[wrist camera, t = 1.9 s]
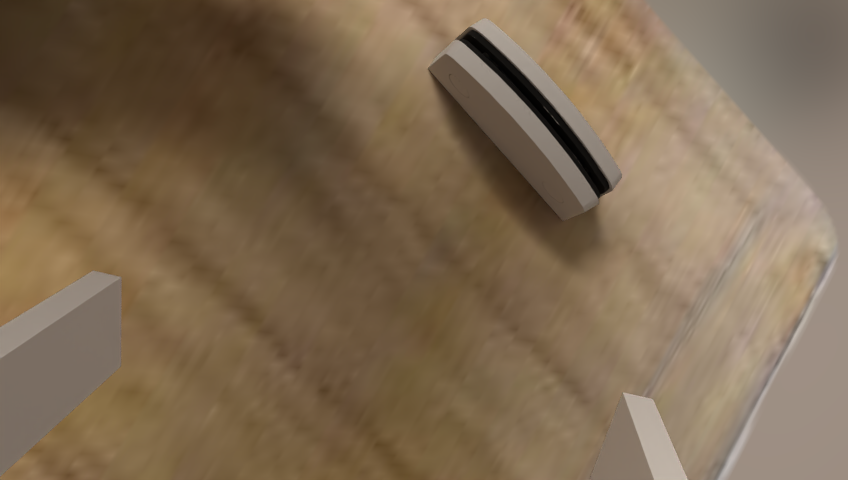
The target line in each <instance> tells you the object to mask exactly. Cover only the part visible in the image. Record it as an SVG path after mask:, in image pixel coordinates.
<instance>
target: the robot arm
mask: <svg viewBox="0 0 848 480" xmlns="http://www.w3.org/2000/svg"><path fill="white" fill-rule="evenodd" d="M120 367H121V277H119V276H115V275H110V274H106V273H101V272H97V271H92V272H90V273H88V274H87V275H85V276H83V277H82V278H80V279H79V280H77V281H75V282H74V283H72V284H70V285H69V286H67V287H65V288H64V289H62V290H60V291H59V292H57V293H56V294H54V295H52V296H51V297H49V298H47V299H46V300H44V301H42V302H41V303H39V304H37V305H36V306H34V307H33V308H31V309H29V310H28V311H26V312H24V313H23V314H21V315H19V316H18V317H16V318H15V319H13V320H11V321H10V322H8V323H6V324H5V325H3V326H1V327H0V476H1V475H2V474H4V473H5V472H6V471H7V470H8V469H9V468H10V467H11V466H12V465H13V464H14V463H16V462H17V461H18V460H19V459H20V458H21V457H22V456H23V455H24V454H25V453H27V452H28V451H29V450H30V449H31V448H32V447H33V446H34V445H35V444H36V443H37V442H39V441H40V440H41V439H42V438H43V437H44V436H45V435H46V434H47V433H48V432H50V431H51V430H52V429H53V428H54V427H55V426H56V425H57V424H58V423H59V422H60V421H62V420H63V419H64V418H65V417H66V416H67V415H68V414H69V413H70V412H71V411H73V410H74V409H75V408H76V407H77V406H78V405H79V404H80V403H81V402H82V401H84V400H85V399H86V398H87V397H88V396H89V395H90V394H91V393H92V392H93V391H94V390H96V389H97V388H98V387H99V386H100V385H101V384H102V383H103V382H104V381H105V380H107V379H108V378H109V377H110V376H111V375H112V374H113V373H114V372H115V371H116V370H117V369H119V368H120ZM590 477H591V480H688V479H687V477H686V474H685V472H684V470H683V467H682V465H681V463H680V460H679V458H678V456H677V454H676V451H675V449H674V447H673V444H672V442H671V440H670V437H669V435H668V433H667V430H666V428H665V426H664V423H663V421H662V419H661V417H660V414H659V412H658V410H657V407H656V405H655V403H654V400H653V399H650V398H646V397H642V396H637V395H633V394H629V393H624V392H623V393H622V395H621V398H620V401H619V403H618V406H617V408H616V411H615V414H614V416H613V419H612V422H611V424H610V427H609V429H608V432H607V435H606V437H605V440H604V442H603V445H602V448H601V450H600V453H599V456H598V458H597V461H596V463H595V466H594V469H593V471H592V474H591V476H590Z"/></svg>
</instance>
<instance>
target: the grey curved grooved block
mask: <svg viewBox="0 0 848 480" xmlns="http://www.w3.org/2000/svg"><path fill="white" fill-rule="evenodd" d="M428 69H429V70H430V72H431V73H432V74H433V75H434V76H435V77H436V78H437V79H438V81H439V82H440V83H441V84H442V85H443V86H444V87H445V89H446V90H447V91H448V92H449V93H450V94H451V95H452V96H453V98H454V99H455V100H456V101H457V102H458V103H459V104H460V105H461V107H462V108H463V109H464V110H465V111H466V112H467V113H468V115H469V116H470V117H471V118H472V119H473V120H474V121H475V122H476V124H477V125H478V126H479V127H480V128H481V129H482V130H483V131H484V133H485V134H486V135H487V136H488V137H489V138H490V139H491V141H492V142H493V143H494V144H495V145H496V146H497V147H498V148H499V150H500V151H501V152H502V153H503V154H504V155H505V156H506V157H507V159H508V160H509V161H510V162H511V163H512V164H513V165H514V166H515V168H516V169H517V170H518V171H519V172H520V173H521V174H522V176H523V177H524V178H525V179H526V180H527V181H528V182H529V183H530V185H531V186H532V187H533V188H534V189H535V190H536V191H537V192H538V194H539V195H540V196H541V197H542V198H543V199H544V200H545V202H546V203H547V204H548V205H549V206H550V207H551V208H552V209H553V211H554V212H555V213H556V214H557V215H558V216H559V217H560V218H561V220H562V221H564V220H567V219H569V218H572V217H574V216H577V215H579V214H582V213H584V212H586V211H588V210H589V209H591V208H592V207H594V206H596V205H597V204H599V200H598V199H599V198H600V196H603V195H605V194H607V193H609V192H611V191H612V190H613V189H614V188H615V186H616V185H617V183H618V182H619V181H620V179H621V178H622V174H621V171H620V169H619V168H618V166H617V164H616V163H615V161H614V160H613V158H612V156H611V155H610V153H609V152H608V150H607V149H606V147H605V146H604V144H603V143H602V141H601V140H600V139H599V137H598V136H597V134H596V133H595V132H594V130H593V129H592V128H591V126H590V125H589V124H588V122H587V121H586V120H585V119H584V117H583V116H582V115H581V113H580V112H579V111H578V109H577V108H576V107H575V106H574V105H573V103H572V102H571V101H570V100H569V98H568V97H567V96H566V95H565V94H564V93H563V92H562V91H561V89H560V88H559V87H558V86H557V85H556V84H555V83H554V82H553V80H552V79H551V78H550V77H549V76H548V75H547V74H546V73H545V72H544V71H543V70H542V68H541V67H540V66H539V65H538V64H537V63H536V62H535V61H534V60H533V59H532V58H531V57H530V56H529V55H528V54H527V53H526V52H525V51H524V50H523V49H522V48H521V47H520V46H519V45H517V44H516V43H515V42H514V41H513V40H512V39H511V38H510V37H509V36H508V35H507V34H505V33H504V32H503V31H502V30H501V29H500V28H498V27H497V26H496V25H495V24H494V23H493V22H491V21H490V20H489V19H485V18H483V19H481V20H480V21H478V22H476V23H475V24H473V25H472V26H470V27H468V28H467V29H466V30H465V31H464V32H463V33H462V34H461V35H459V36H458V37H457V38H456V39H455V40H454V41H453V42H452V43H450V44H449V45H448V46H447V47H446V48H445V49H444V50H443V51H442V52H441V53H440V54H438V55H437V56H436V57H435V59H434V60H433V62H432V63H431V64H430V66H429V67H428Z"/></svg>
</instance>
